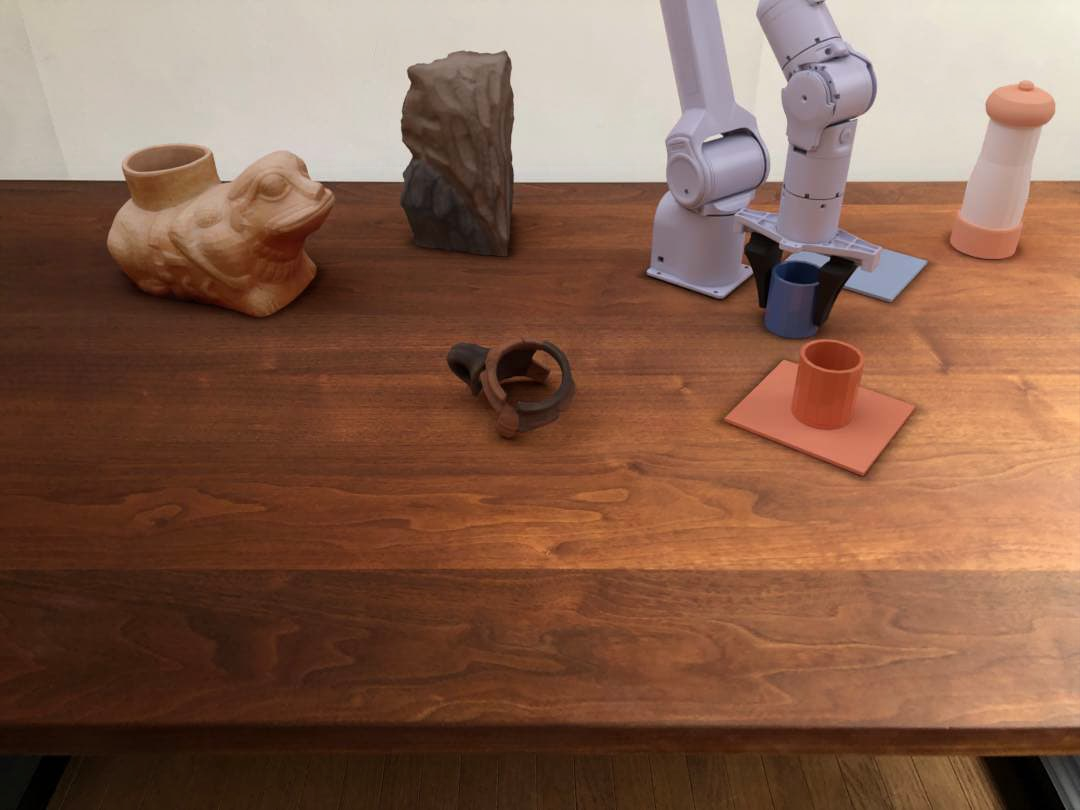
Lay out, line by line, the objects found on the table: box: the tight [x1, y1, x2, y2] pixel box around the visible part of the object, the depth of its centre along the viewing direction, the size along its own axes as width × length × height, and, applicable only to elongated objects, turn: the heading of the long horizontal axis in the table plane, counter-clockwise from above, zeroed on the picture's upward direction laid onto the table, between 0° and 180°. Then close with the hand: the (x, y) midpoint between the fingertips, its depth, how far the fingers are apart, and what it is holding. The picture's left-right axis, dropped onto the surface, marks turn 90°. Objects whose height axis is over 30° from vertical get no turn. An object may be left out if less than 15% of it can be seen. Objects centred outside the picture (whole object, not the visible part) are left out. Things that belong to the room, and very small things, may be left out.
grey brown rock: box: [399, 49, 515, 257], centre depth 120 cm, size 13×13×20 cm
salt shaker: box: [949, 79, 1056, 260], centre depth 117 cm, size 7×7×19 cm
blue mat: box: [784, 247, 929, 304], centre depth 118 cm, size 13×11×1 cm
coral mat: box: [723, 359, 916, 477], centre depth 95 cm, size 13×12×1 cm
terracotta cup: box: [791, 338, 866, 430], centre depth 93 cm, size 5×5×6 cm
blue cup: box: [763, 260, 821, 340], centre depth 106 cm, size 5×5×6 cm
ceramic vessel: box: [106, 142, 336, 318], centre depth 110 cm, size 14×26×15 cm, turn 71°
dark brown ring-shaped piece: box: [445, 336, 578, 439], centre depth 94 cm, size 12×10×8 cm
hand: (792, 313), depth 107 cm, fingers closed on blue cup, 5 cm apart
